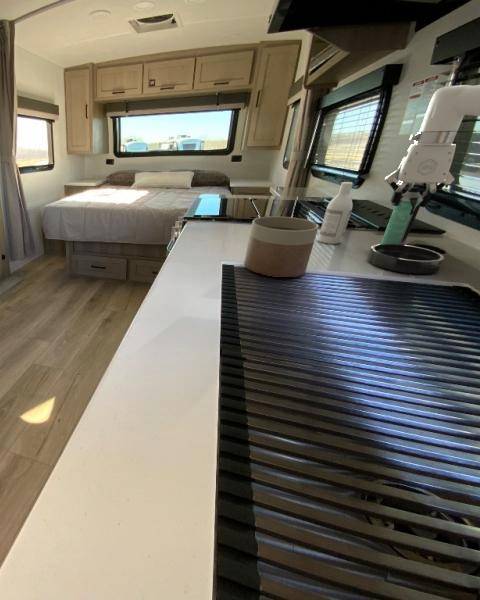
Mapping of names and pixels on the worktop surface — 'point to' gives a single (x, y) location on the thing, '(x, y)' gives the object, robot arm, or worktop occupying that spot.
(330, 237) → the bath foam
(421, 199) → the spray can
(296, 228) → the planter
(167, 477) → the worktop surface
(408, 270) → the pan
